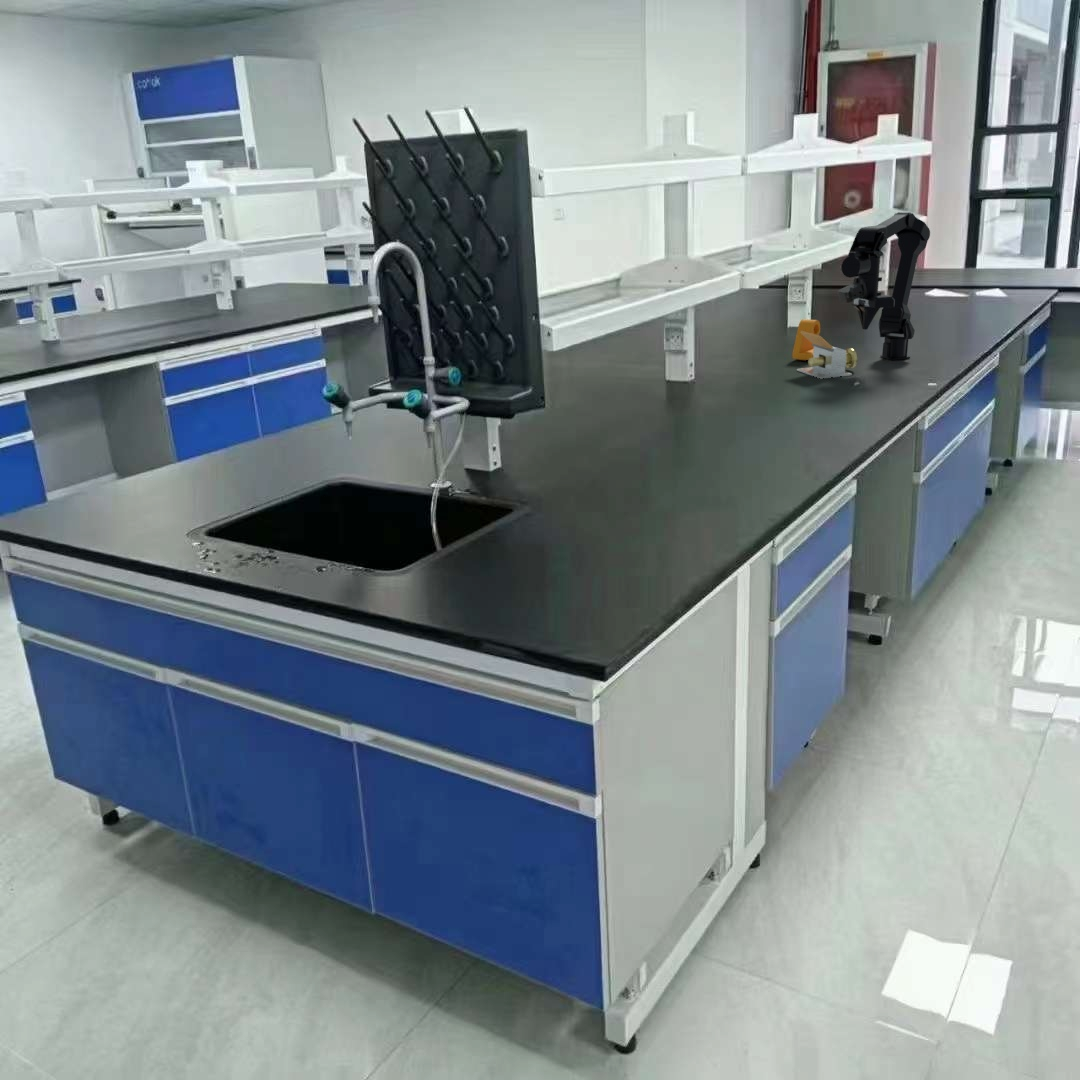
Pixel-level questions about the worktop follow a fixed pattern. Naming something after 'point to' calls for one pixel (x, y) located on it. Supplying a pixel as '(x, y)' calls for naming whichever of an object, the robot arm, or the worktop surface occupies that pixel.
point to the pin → (850, 359)
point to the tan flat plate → (817, 341)
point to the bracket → (805, 339)
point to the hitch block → (828, 364)
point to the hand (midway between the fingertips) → (864, 329)
